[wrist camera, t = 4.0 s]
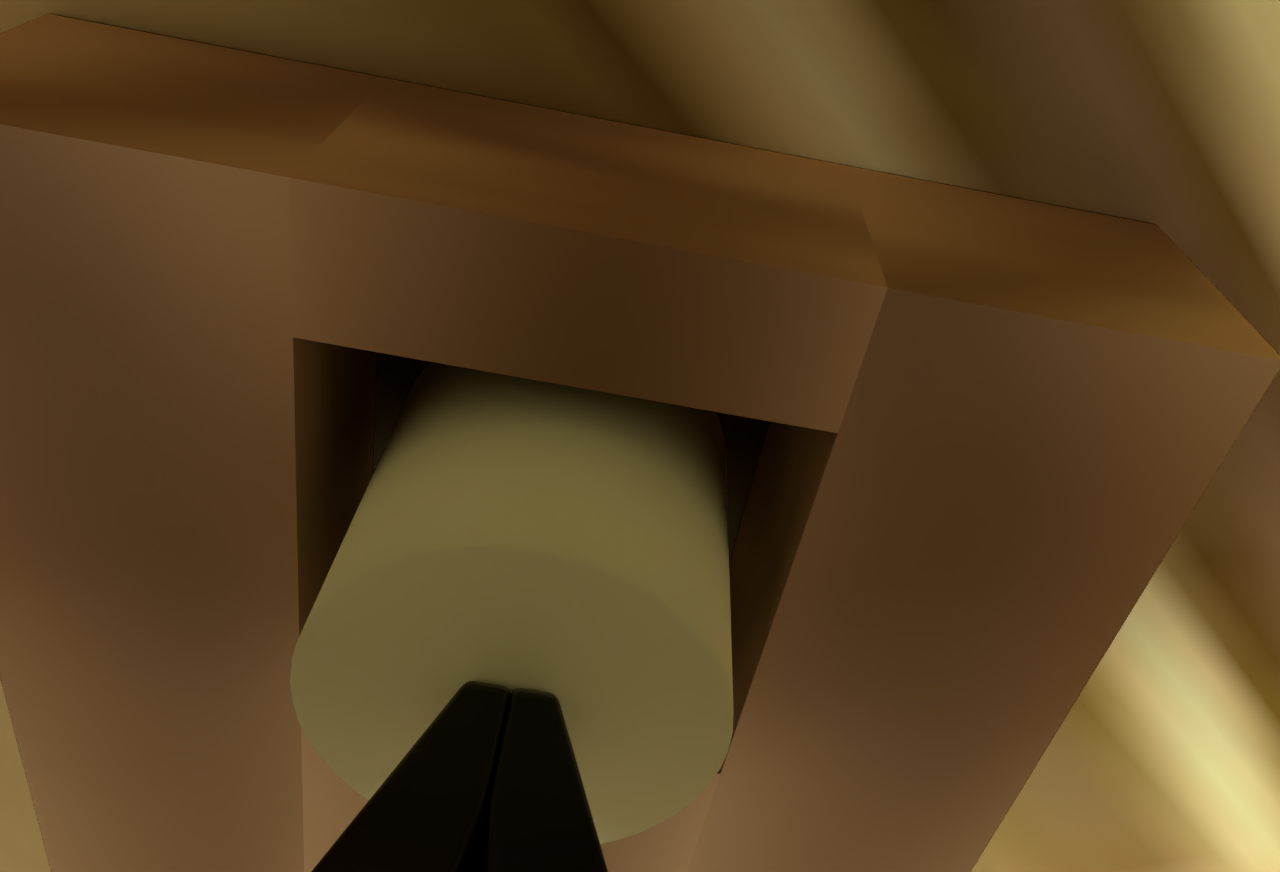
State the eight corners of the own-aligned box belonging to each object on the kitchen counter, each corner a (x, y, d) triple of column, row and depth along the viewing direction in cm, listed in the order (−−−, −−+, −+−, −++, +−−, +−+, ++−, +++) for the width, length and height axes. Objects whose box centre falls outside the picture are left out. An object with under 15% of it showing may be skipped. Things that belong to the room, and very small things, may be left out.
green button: (393, 555, 14) (293, 817, 10) (407, 286, 11) (284, 508, 8) (690, 604, 14) (684, 875, 10) (760, 349, 12) (782, 592, 8)
